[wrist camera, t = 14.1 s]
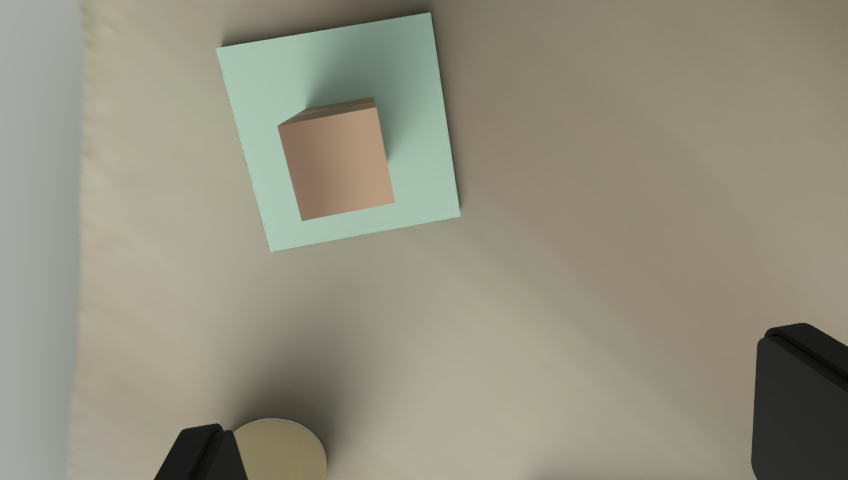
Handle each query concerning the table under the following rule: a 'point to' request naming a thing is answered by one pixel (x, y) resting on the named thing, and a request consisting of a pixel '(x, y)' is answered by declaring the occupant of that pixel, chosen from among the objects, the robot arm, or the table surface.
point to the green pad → (334, 83)
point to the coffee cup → (280, 451)
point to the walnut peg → (337, 159)
